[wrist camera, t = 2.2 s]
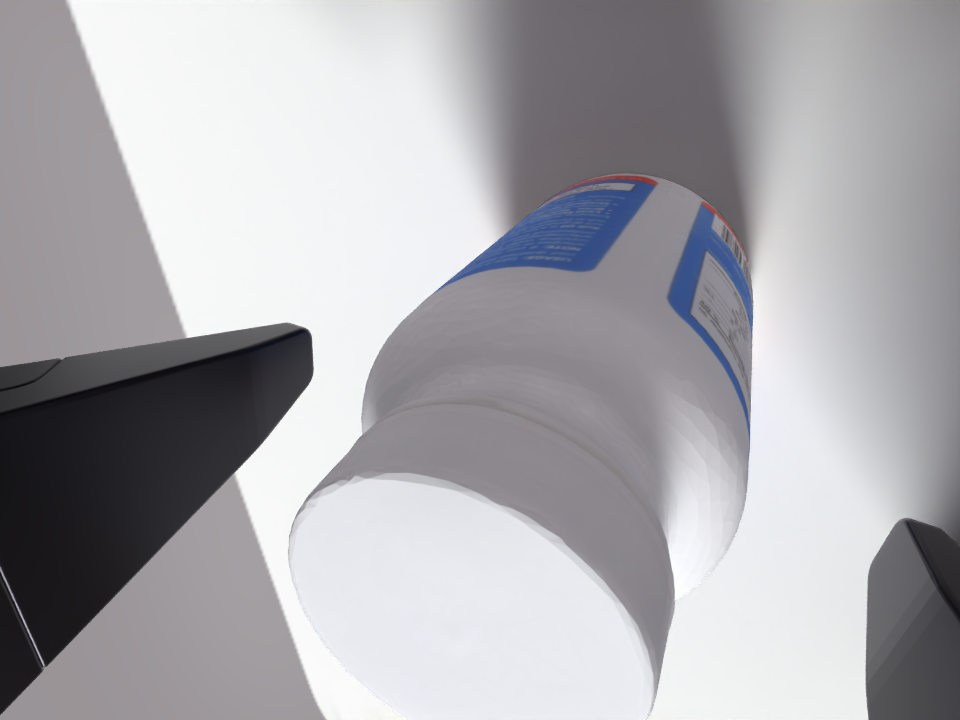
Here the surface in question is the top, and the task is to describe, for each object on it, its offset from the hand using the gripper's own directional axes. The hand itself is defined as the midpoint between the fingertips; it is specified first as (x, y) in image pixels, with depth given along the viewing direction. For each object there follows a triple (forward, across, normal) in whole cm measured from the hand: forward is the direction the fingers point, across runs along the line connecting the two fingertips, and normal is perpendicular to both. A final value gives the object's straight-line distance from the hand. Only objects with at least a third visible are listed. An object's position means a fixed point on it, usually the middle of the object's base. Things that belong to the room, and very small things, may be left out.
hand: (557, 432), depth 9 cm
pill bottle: (+6, 0, 0) cm, 6 cm away
